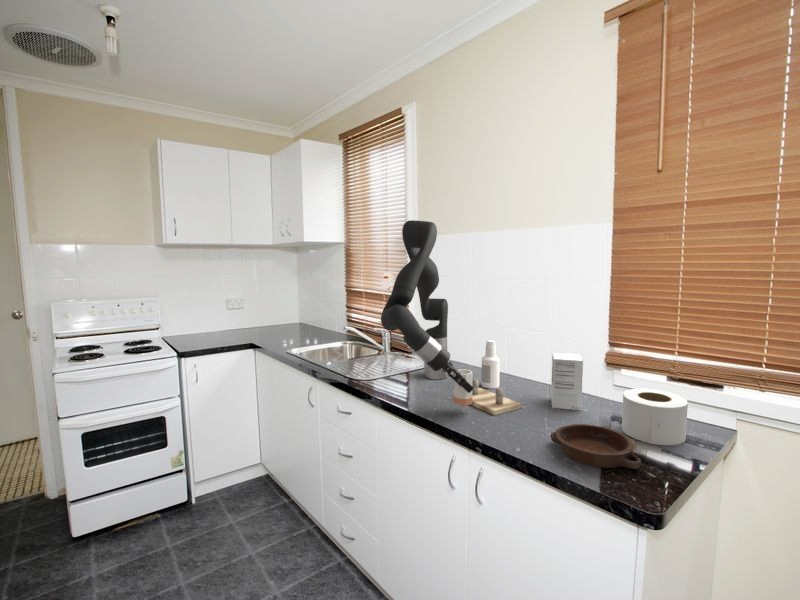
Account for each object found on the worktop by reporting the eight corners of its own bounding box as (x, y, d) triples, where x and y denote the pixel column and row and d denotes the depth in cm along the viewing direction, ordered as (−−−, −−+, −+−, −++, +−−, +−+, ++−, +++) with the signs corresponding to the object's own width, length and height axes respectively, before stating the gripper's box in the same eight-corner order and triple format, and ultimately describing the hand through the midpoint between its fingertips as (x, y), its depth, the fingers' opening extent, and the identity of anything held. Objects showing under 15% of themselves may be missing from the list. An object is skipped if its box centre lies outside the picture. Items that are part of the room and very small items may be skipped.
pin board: (454, 397, 149) (454, 380, 149) (480, 391, 155) (480, 374, 155) (494, 415, 132) (494, 395, 132) (521, 407, 138) (521, 389, 138)
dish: (565, 432, 119) (565, 416, 119) (652, 458, 103) (653, 439, 103) (535, 453, 107) (536, 434, 106) (628, 486, 91) (629, 464, 91)
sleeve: (450, 400, 135) (450, 371, 134) (464, 397, 138) (464, 368, 137) (461, 406, 130) (461, 375, 129) (476, 402, 133) (476, 372, 132)
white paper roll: (671, 451, 107) (673, 410, 106) (611, 431, 119) (613, 395, 118) (694, 435, 116) (697, 398, 115) (636, 418, 128) (638, 384, 127)
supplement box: (550, 398, 147) (551, 352, 145) (578, 401, 144) (580, 353, 142) (551, 408, 138) (553, 358, 136) (581, 411, 135) (583, 360, 133)
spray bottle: (484, 382, 167) (485, 338, 165) (501, 385, 163) (502, 340, 161) (478, 387, 161) (479, 341, 159) (496, 389, 157) (496, 343, 156)
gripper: (445, 349, 124) (483, 385, 127) (435, 339, 138) (469, 372, 141) (428, 367, 124) (466, 403, 127) (420, 355, 138) (454, 388, 141)
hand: (468, 387), depth 134 cm, fingers closed on sleeve, 6 cm apart
